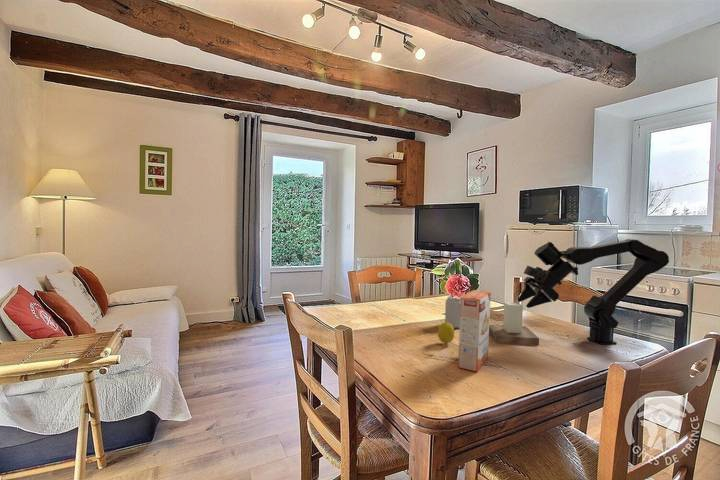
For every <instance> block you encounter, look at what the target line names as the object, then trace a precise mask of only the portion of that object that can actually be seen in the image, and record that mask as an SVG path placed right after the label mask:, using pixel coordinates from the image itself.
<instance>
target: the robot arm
mask: <svg viewBox="0 0 720 480" xmlns="http://www.w3.org/2000/svg"><path fill="white" fill-rule="evenodd" d="M623 253H630V254H631V256H634V257H635V259H634V262H633V265H632V267H631V268H630V269H629V270H628V271H627V272H626V273H625V274H624V275H623V276H622V277H621V278H619V280H618V281H617V282H615V284H613V285H612V286H611V287H610V288H609V289H608V290H607V291H606V292H605V293H604V294H603V295H601V296H597V295H592V296H591V298H590V299H589V300H587V301H585V302H584V303H585V305H584V306H583V312H584V314H585V315H586V317H588V321H590V327H589V336H587V337H586V339H587V340H590V341H592V342H594V343H597V344H599V345H614V344H615V345H617V344H618V343H617V341H615V340H614V329H616V328H617V327H618V325H619V321H617V319H616V318H614V317H613V315H614V313H615V311H616V307H617V305H618V304H619V303H620V301H622V300H623V299H624V298H625V297H626V296H627V295H628V294H629V293H630V292H631V291H633V290H634V289H635V287H637V286H638V284H640V283H641V282H642V281H643V280H644V279H645V278H646V277H647V276H649V275H651V274H654V273H656V272H658V271H660V270H662V269H663V268H665V267H666V266H668V264H669V262H670V259H669V258H670V256H669V254H667V252H666V251H663V250H658V249H656V248H655V247H652V246H649V245H647V244H645V243H643V242H642V241H640V240H639V239H633V238H626V239H625V240H619V241H614V242H610V243H605V244H599V245H595V246H575V247H574V246H573V247H572V246H571V247H569V248H567V249H566V250H559V249H558V248H557V247H556V245H555V244H554V243H553V242H552V241H547V243H545V244H543V245H541V246H539V247H537V249H536V250H535V251H534V255H535V256H536V257H537V258H538V259H539V260H540V261H541V262H542V263H543V264H544V265H545V266H550V267H549V268H548V269H547V270H546V269H544V268H541V267H539V266H536V267H532V266H530V265H527V266H526V268H525V270H524V272H523V274H525V275H527V276H526V277H525V278H524V279H523V284H524V285H523V287H524V288H523V289H522V291H521V294H520V295H519V297H518V298H517V302H518V303H521V302H523V301H525V300H527V299H530V298H531V299H530V300H529V301H528V302H527V304H526V305H525V307H527V308H528V309H530V308H533V307H537V306H539V305H543V304H548V303H552V302H556V301H558V300H559V298H560V293H558V292H557V291H556V290H555V287H556V286H558V285H559V286H561V285H562V284H563V282H562V281H563V280H564V279H565V278H567V277H568V276H569V275H570V274H572V275H575V276H578V275H579V271H578V269H579V267H577V266H574V265H580V266H582V265H585V264H587V263H591V262H593V261H594V260H596V259H599V258H603V257H608V256H614V255H618V254H623ZM564 260H566V261H564ZM572 264H574V265H572Z"/></svg>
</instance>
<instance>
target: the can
mask: <svg viewBox="0 0 720 480" xmlns="http://www.w3.org/2000/svg"><path fill="white" fill-rule="evenodd" d="M451 296H452V295H449V296H447V297H446V300H445V311H444V312H445V313H444V315H445V317H444V318H445V319H444V322H446V321H447V322H448V323H450V324H451V325H452V326H453V328H454V329H460V307H461V298H460V299H457V298H453V297H451Z"/></svg>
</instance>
